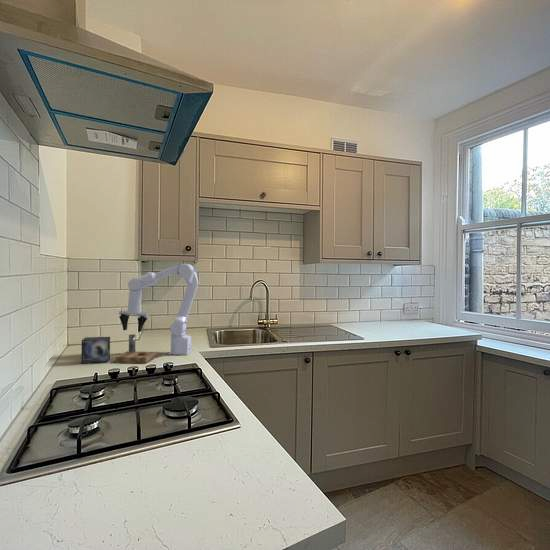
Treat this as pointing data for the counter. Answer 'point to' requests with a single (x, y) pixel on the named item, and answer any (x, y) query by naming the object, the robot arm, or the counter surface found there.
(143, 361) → the hole block
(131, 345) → the peg
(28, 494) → the counter surface
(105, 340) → the small box
